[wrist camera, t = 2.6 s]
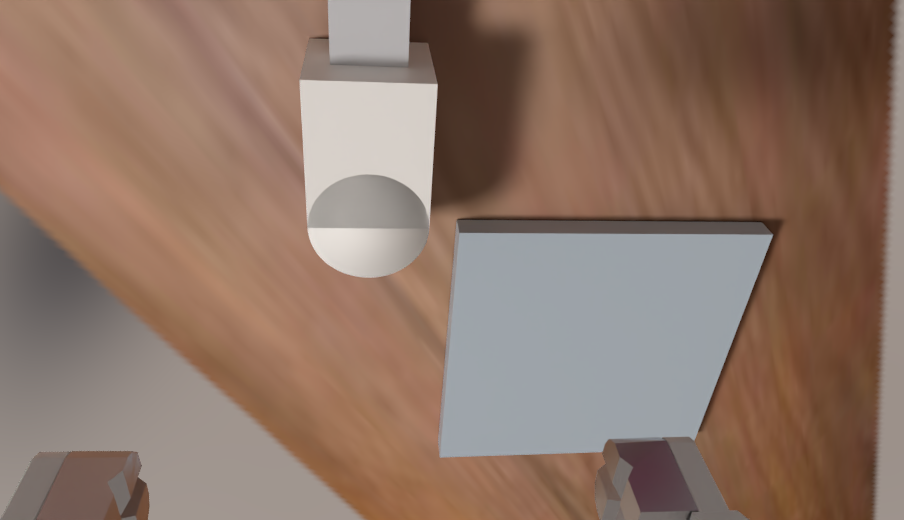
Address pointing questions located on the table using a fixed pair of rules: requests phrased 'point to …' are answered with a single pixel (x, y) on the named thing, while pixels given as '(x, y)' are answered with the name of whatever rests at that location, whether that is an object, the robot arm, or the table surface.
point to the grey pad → (589, 330)
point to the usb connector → (368, 138)
